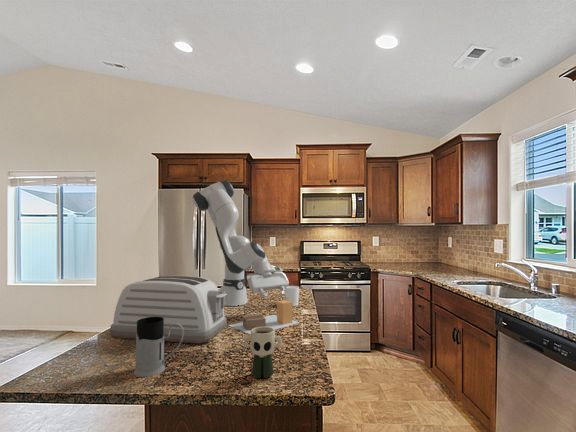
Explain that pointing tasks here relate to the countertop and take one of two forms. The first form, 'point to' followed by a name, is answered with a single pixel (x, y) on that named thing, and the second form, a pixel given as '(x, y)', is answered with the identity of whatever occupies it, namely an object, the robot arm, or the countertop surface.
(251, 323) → the walnut plinth
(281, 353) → the countertop surface
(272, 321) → the board
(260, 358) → the character mug
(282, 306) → the orange block
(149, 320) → the glass holder
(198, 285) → the toaster
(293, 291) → the white cup
